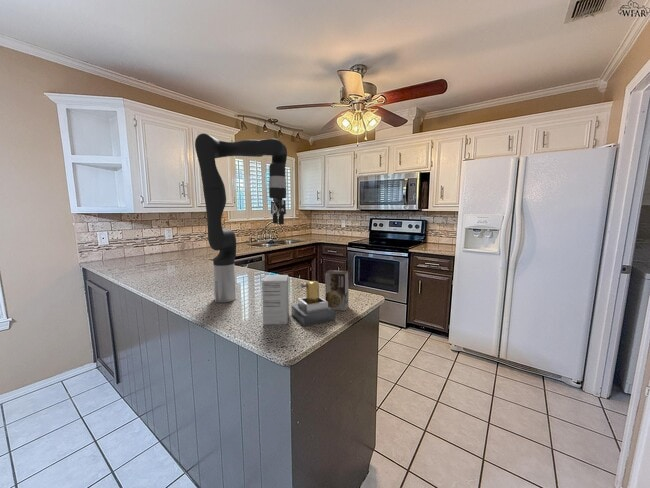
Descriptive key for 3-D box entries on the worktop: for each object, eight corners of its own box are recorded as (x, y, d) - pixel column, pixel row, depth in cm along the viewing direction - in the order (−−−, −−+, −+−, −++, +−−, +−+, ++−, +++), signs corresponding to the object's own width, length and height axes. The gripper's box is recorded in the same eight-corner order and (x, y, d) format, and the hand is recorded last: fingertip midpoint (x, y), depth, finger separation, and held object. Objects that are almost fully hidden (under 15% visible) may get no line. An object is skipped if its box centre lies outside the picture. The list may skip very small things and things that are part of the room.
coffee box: (348, 306, 121) (349, 270, 119) (345, 311, 115) (345, 274, 113) (329, 304, 124) (329, 269, 122) (324, 308, 117) (324, 272, 116)
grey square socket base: (304, 326, 100) (303, 307, 99) (291, 314, 111) (291, 297, 110) (334, 320, 105) (335, 302, 105) (320, 309, 117) (320, 293, 116)
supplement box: (266, 315, 110) (265, 274, 108) (289, 314, 111) (288, 274, 109) (262, 325, 100) (261, 280, 98) (287, 324, 101) (287, 280, 99)
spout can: (321, 307, 107) (321, 282, 106) (305, 311, 103) (304, 285, 102) (315, 304, 111) (314, 280, 110) (299, 307, 107) (298, 282, 106)
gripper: (265, 188, 125) (265, 223, 127) (274, 185, 112) (274, 224, 114) (280, 188, 128) (281, 223, 130) (291, 186, 116) (291, 224, 118)
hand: (278, 223), depth 122 cm, fingers open, 8 cm apart
